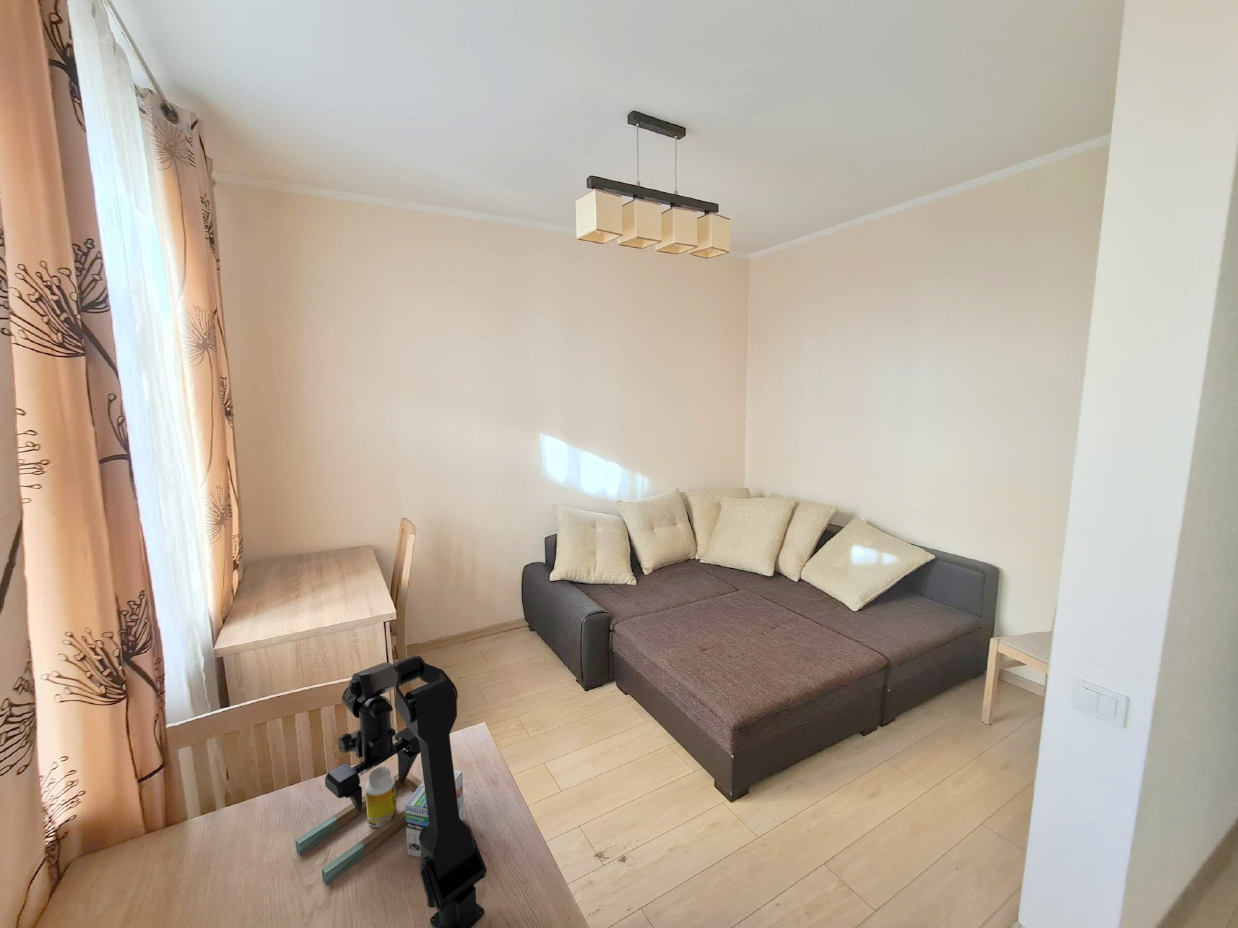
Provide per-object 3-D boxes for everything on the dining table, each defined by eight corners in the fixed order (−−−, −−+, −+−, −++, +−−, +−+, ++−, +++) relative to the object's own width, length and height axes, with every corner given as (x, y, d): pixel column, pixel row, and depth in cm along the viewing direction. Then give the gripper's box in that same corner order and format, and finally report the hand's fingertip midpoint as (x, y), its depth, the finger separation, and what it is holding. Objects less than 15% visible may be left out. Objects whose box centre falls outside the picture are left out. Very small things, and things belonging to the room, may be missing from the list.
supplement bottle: (398, 821, 106) (395, 776, 105) (368, 833, 104) (365, 787, 102) (395, 803, 111) (392, 760, 110) (366, 813, 108) (363, 769, 107)
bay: (437, 803, 111) (437, 792, 111) (326, 885, 93) (325, 872, 92) (405, 779, 118) (405, 769, 118) (296, 851, 99) (295, 839, 99)
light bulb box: (438, 862, 97) (435, 810, 96) (406, 855, 98) (402, 805, 97) (465, 816, 108) (463, 769, 106) (436, 811, 109) (434, 765, 107)
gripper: (396, 691, 117) (400, 754, 119) (308, 736, 102) (315, 807, 104) (426, 709, 110) (429, 775, 112) (336, 759, 95) (342, 834, 97)
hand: (381, 796), depth 107 cm, fingers open, 9 cm apart
